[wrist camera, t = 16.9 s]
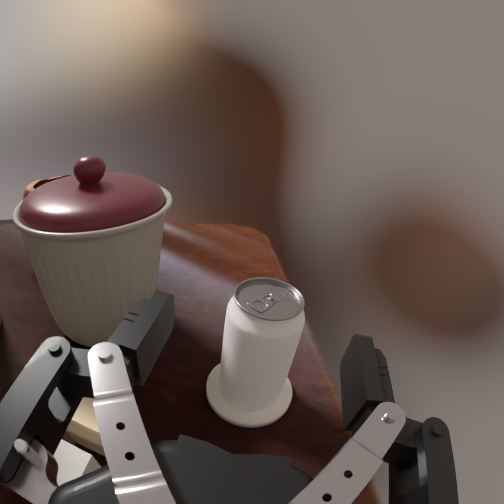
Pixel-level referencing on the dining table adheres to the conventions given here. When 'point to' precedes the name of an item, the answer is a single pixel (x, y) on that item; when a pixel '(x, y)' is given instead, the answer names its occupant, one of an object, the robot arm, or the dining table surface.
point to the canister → (94, 246)
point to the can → (259, 342)
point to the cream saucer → (242, 416)
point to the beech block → (86, 427)
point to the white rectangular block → (73, 462)
